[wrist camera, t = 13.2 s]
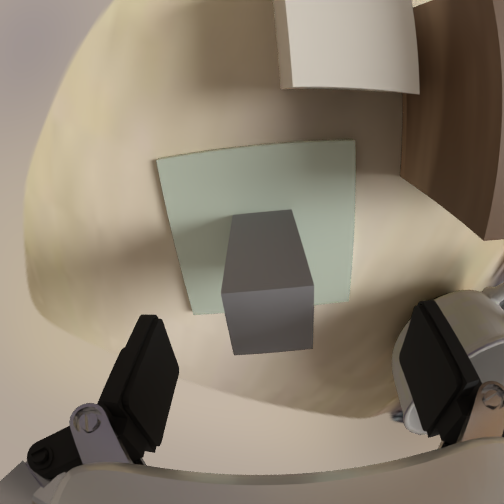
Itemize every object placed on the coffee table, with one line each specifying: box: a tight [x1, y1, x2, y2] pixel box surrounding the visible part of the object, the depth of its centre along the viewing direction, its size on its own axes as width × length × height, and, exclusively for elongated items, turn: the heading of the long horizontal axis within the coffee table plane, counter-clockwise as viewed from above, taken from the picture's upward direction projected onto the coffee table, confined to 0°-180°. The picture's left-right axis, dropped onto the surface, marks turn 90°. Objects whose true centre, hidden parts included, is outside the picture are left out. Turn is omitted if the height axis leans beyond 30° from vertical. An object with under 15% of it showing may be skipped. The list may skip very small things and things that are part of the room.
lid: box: [156, 139, 356, 355], centre depth 15 cm, size 10×10×8 cm
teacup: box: [392, 283, 504, 435], centre depth 17 cm, size 14×11×8 cm
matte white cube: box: [273, 0, 420, 94], centre depth 10 cm, size 5×6×5 cm
